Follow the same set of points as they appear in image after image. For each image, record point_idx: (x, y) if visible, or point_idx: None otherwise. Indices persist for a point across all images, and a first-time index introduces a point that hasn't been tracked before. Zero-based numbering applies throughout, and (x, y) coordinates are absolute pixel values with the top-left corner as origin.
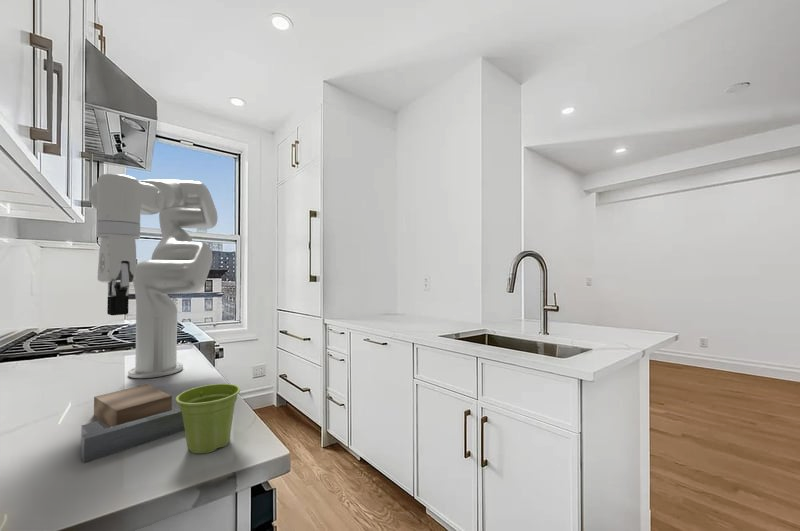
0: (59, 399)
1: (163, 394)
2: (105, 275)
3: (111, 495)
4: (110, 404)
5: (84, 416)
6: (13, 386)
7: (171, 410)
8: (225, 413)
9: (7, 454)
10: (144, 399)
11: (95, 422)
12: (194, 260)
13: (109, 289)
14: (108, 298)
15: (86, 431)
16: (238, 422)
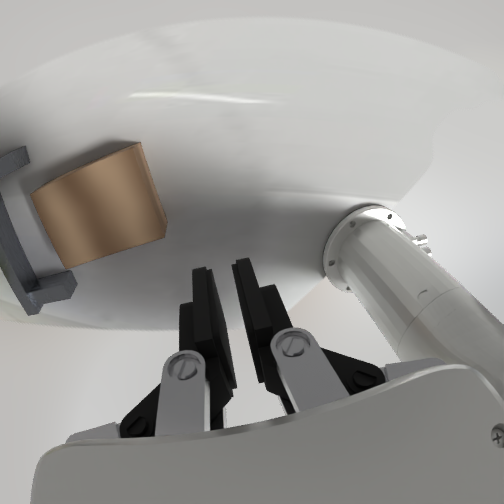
0: (303, 87)
1: (77, 259)
2: (102, 500)
3: None
4: (63, 181)
5: (143, 128)
6: (441, 55)
7: (8, 262)
8: None
9: (45, 64)
10: (64, 231)
11: (13, 168)
12: None
13: (283, 376)
14: (250, 321)
15: None
16: (21, 310)
